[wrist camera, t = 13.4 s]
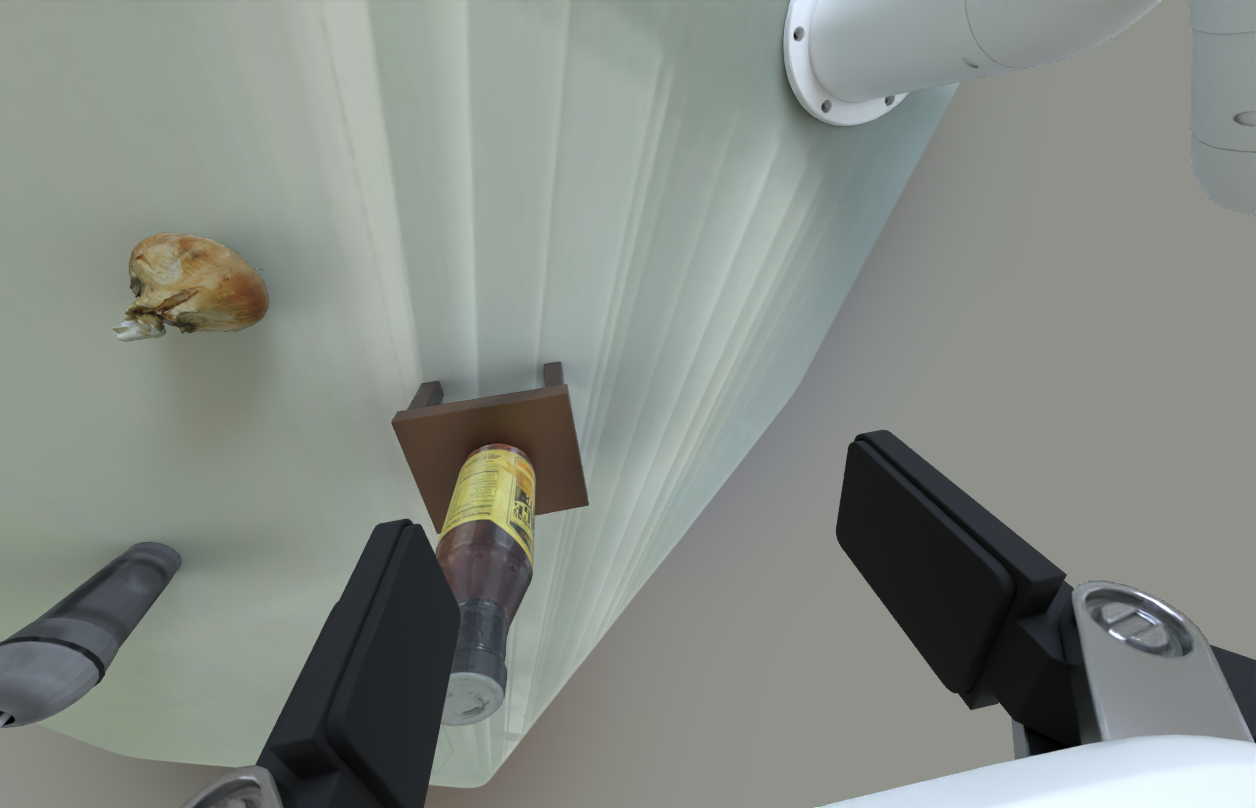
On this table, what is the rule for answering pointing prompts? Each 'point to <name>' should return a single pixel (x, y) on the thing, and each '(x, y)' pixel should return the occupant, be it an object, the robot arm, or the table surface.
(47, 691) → the beverage cup
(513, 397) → the plate
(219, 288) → the onion
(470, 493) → the sauce bottle
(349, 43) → the table surface
